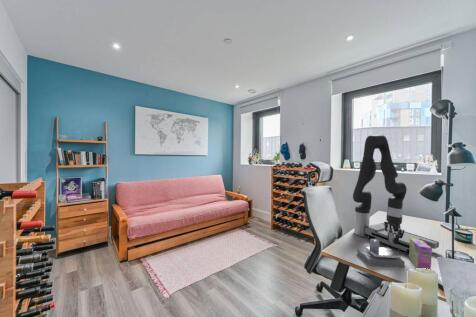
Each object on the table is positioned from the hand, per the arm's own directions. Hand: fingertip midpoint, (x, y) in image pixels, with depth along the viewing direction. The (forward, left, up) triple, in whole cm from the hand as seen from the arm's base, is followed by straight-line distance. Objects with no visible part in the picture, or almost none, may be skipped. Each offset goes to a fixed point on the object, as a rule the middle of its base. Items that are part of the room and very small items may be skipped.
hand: (392, 241), depth 122 cm
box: (+13, +5, -7) cm, 15 cm away
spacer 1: (+11, -18, -1) cm, 21 cm away
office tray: (-11, +11, -7) cm, 17 cm away
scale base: (+11, -15, -6) cm, 19 cm away
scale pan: (+11, -13, -2) cm, 17 cm away
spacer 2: (0, 0, -1) cm, 1 cm away
